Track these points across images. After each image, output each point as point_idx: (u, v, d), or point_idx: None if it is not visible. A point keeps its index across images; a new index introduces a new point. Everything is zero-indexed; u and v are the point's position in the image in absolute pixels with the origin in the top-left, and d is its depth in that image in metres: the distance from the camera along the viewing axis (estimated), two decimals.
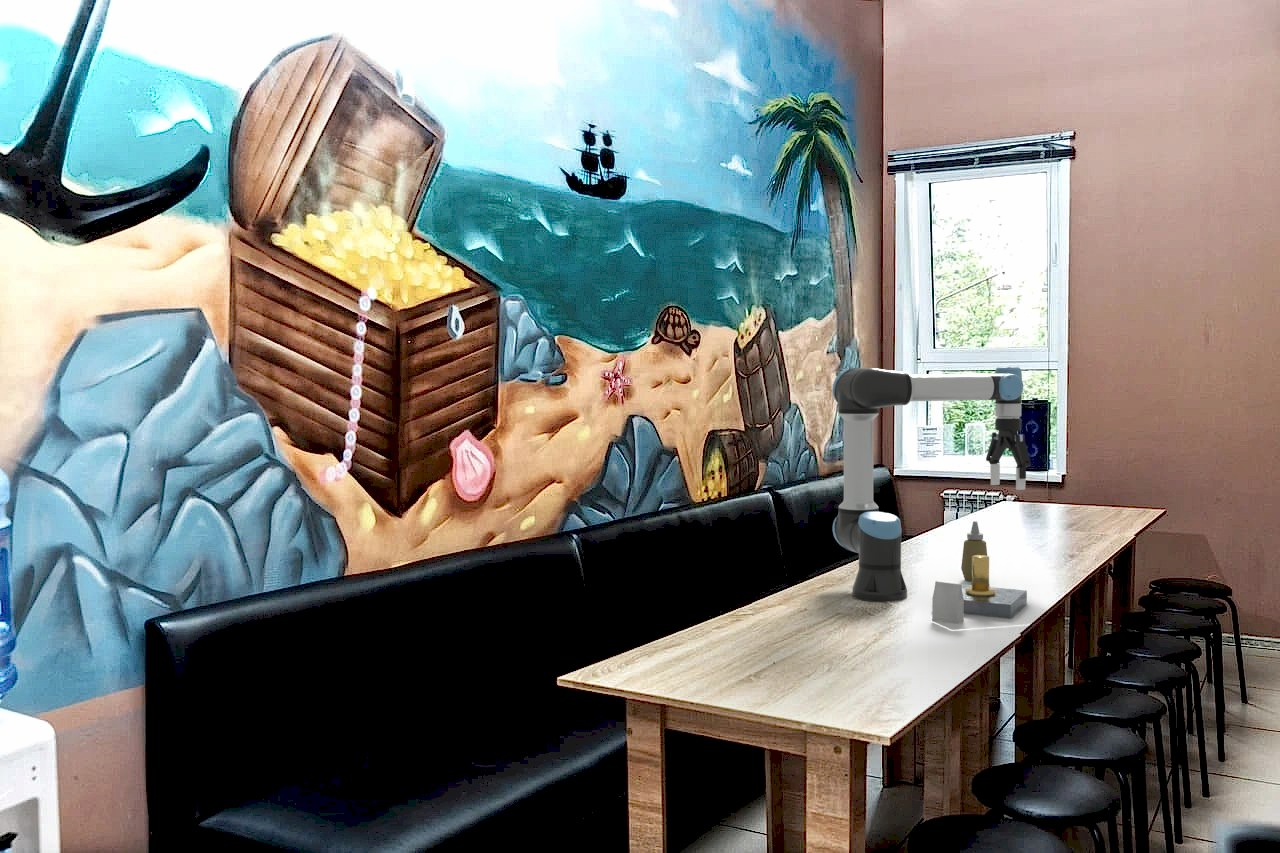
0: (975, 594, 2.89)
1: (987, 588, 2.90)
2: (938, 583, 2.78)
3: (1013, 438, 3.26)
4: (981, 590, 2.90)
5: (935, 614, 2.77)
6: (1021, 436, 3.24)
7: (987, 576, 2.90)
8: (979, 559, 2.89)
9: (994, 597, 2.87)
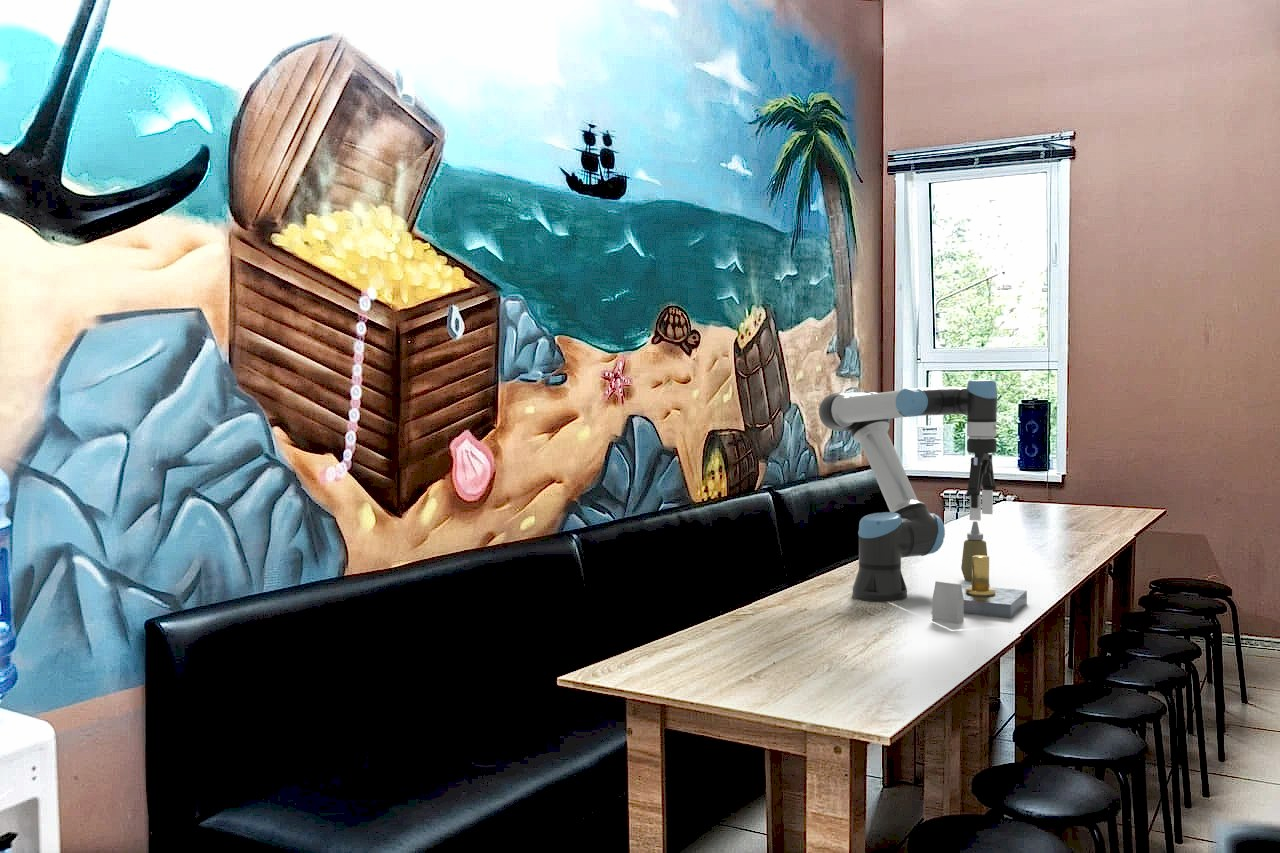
0: (975, 594, 2.89)
1: (987, 588, 2.90)
2: (938, 583, 2.78)
3: None
4: (981, 590, 2.90)
5: (935, 614, 2.77)
6: (975, 459, 2.84)
7: (987, 576, 2.90)
8: (979, 559, 2.89)
9: (994, 597, 2.87)
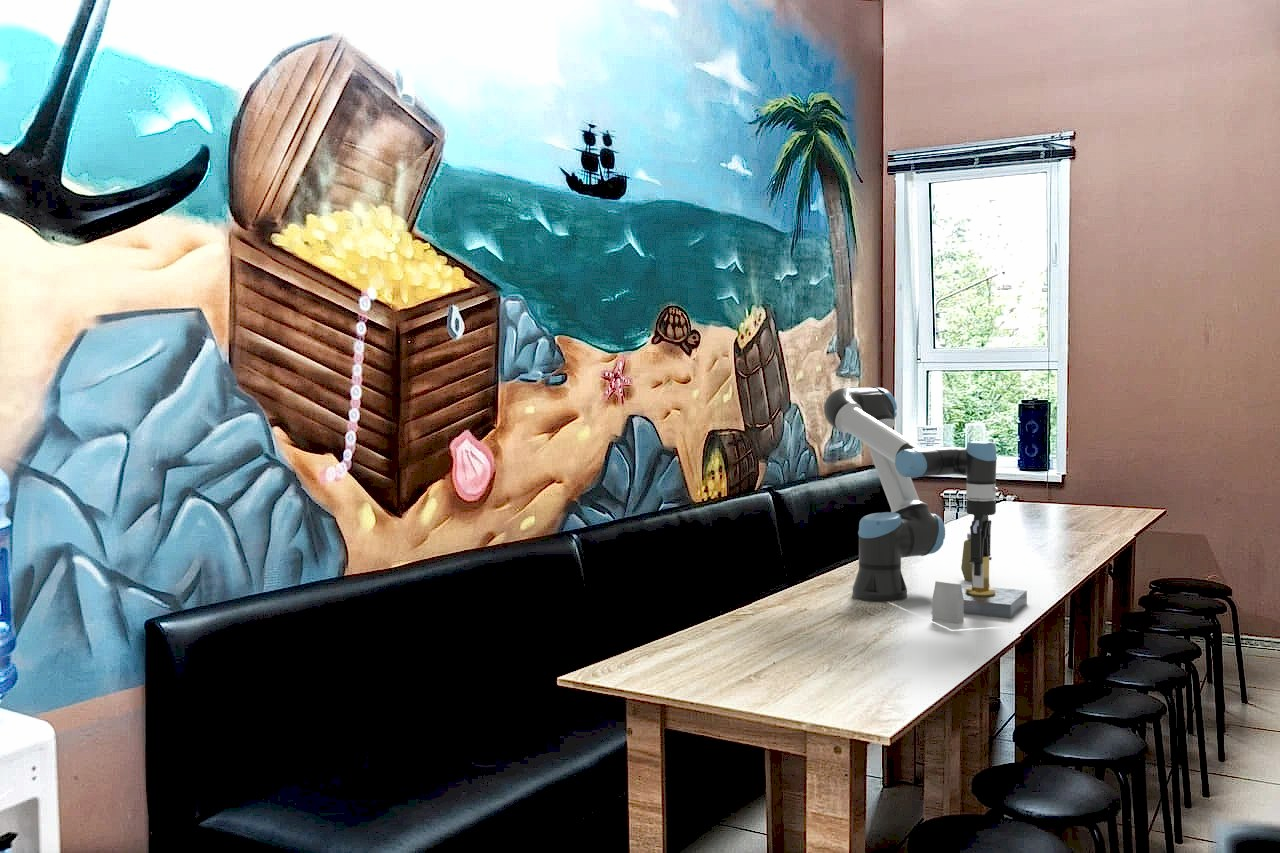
0: (975, 594, 2.89)
1: (987, 588, 2.90)
2: (938, 583, 2.78)
3: (974, 524, 2.88)
4: (981, 590, 2.90)
5: (935, 614, 2.77)
6: (975, 529, 2.85)
7: (987, 576, 2.90)
8: None
9: (994, 597, 2.87)
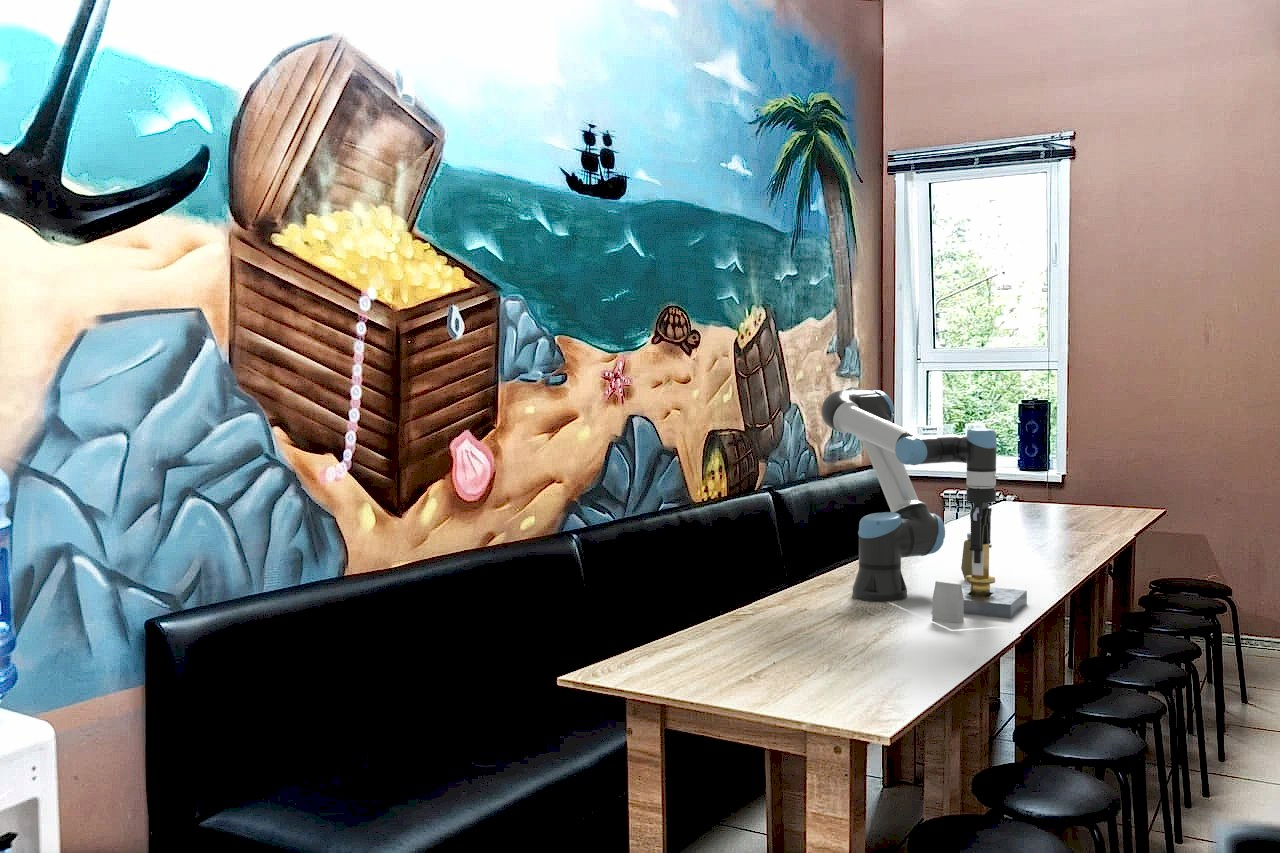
0: (974, 581, 2.89)
1: (987, 575, 2.90)
2: (938, 583, 2.78)
3: (974, 512, 2.88)
4: (981, 577, 2.89)
5: (935, 614, 2.77)
6: (975, 516, 2.85)
7: (986, 563, 2.89)
8: None
9: (994, 597, 2.87)
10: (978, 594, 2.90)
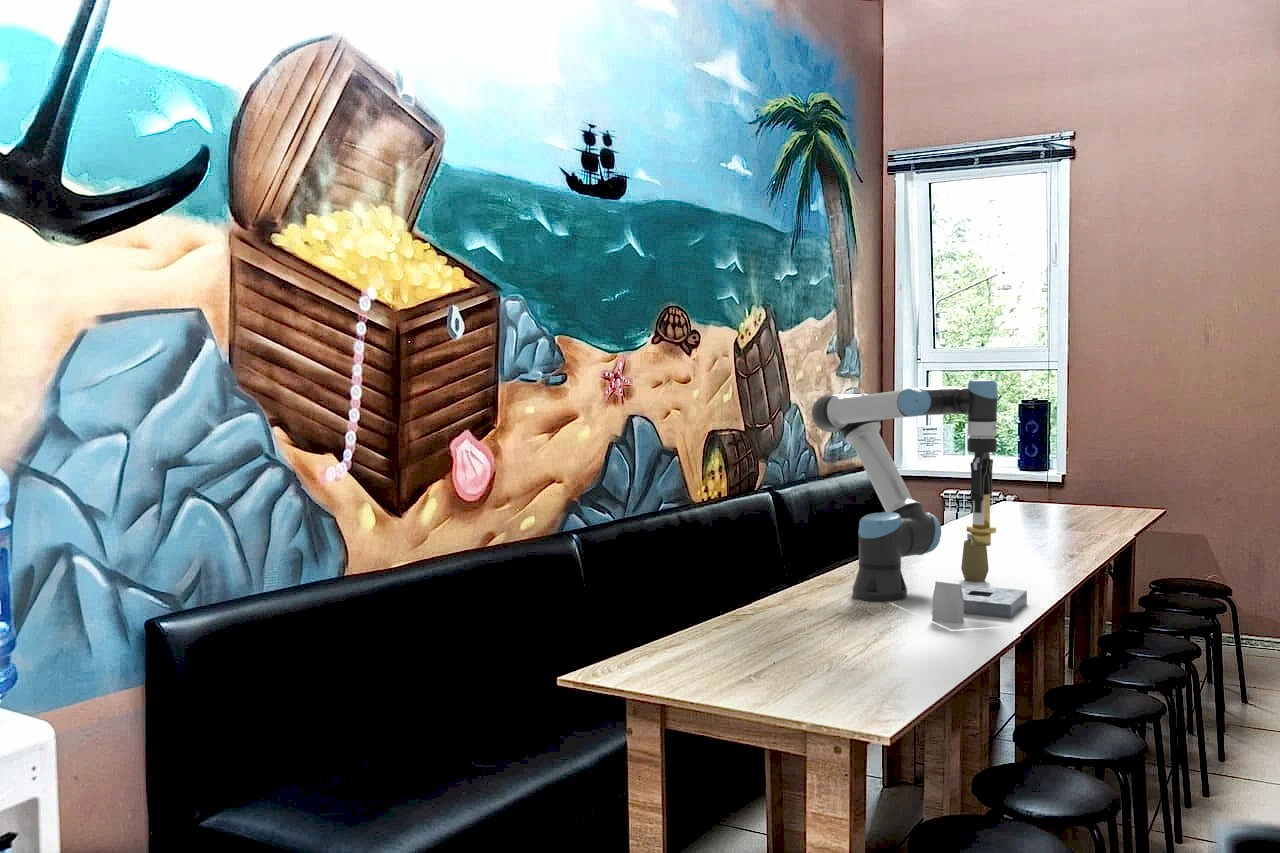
0: (975, 531, 2.91)
1: (988, 525, 2.92)
2: (938, 583, 2.78)
3: (975, 462, 2.90)
4: (981, 527, 2.92)
5: (935, 614, 2.77)
6: (975, 465, 2.87)
7: (987, 513, 2.92)
8: None
9: (994, 597, 2.87)
10: (979, 544, 2.92)
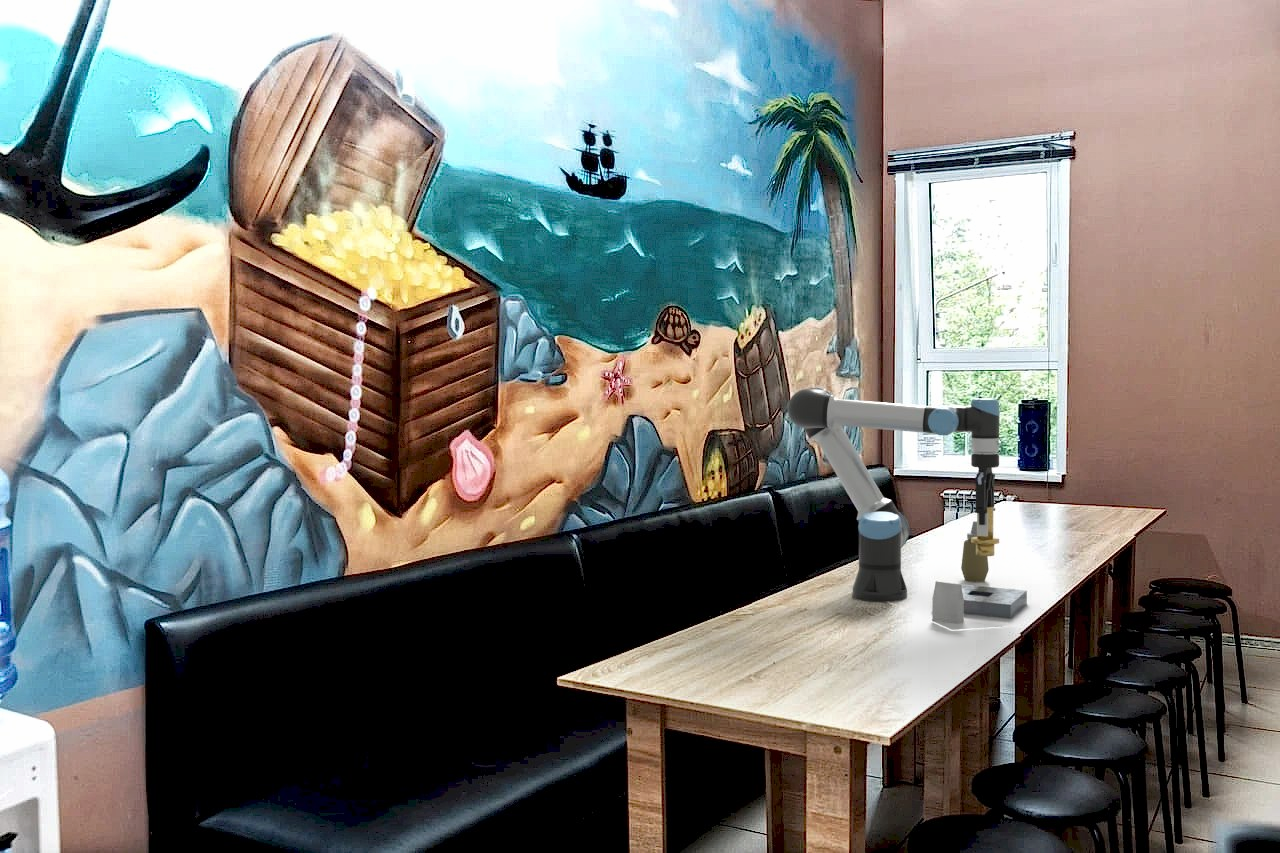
0: (980, 542, 3.06)
1: (991, 537, 3.07)
2: (938, 583, 2.78)
3: (979, 476, 3.05)
4: (986, 538, 3.07)
5: (935, 614, 2.77)
6: (979, 480, 3.03)
7: (991, 525, 3.07)
8: None
9: (994, 597, 2.87)
10: (983, 554, 3.07)
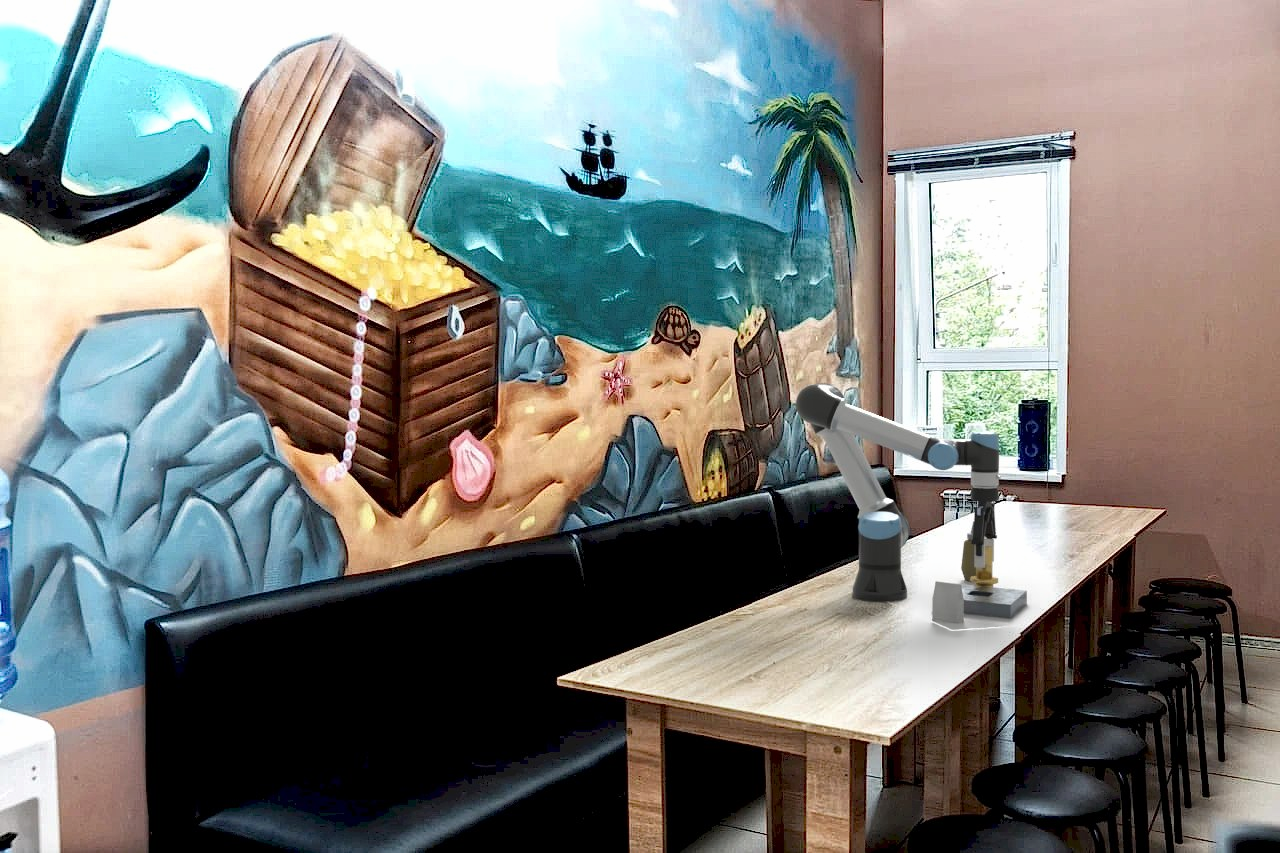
0: (979, 582, 3.07)
1: (990, 576, 3.08)
2: (938, 583, 2.78)
3: None
4: (985, 578, 3.08)
5: (935, 614, 2.77)
6: (979, 510, 3.03)
7: (990, 565, 3.08)
8: None
9: (994, 597, 2.87)
10: None
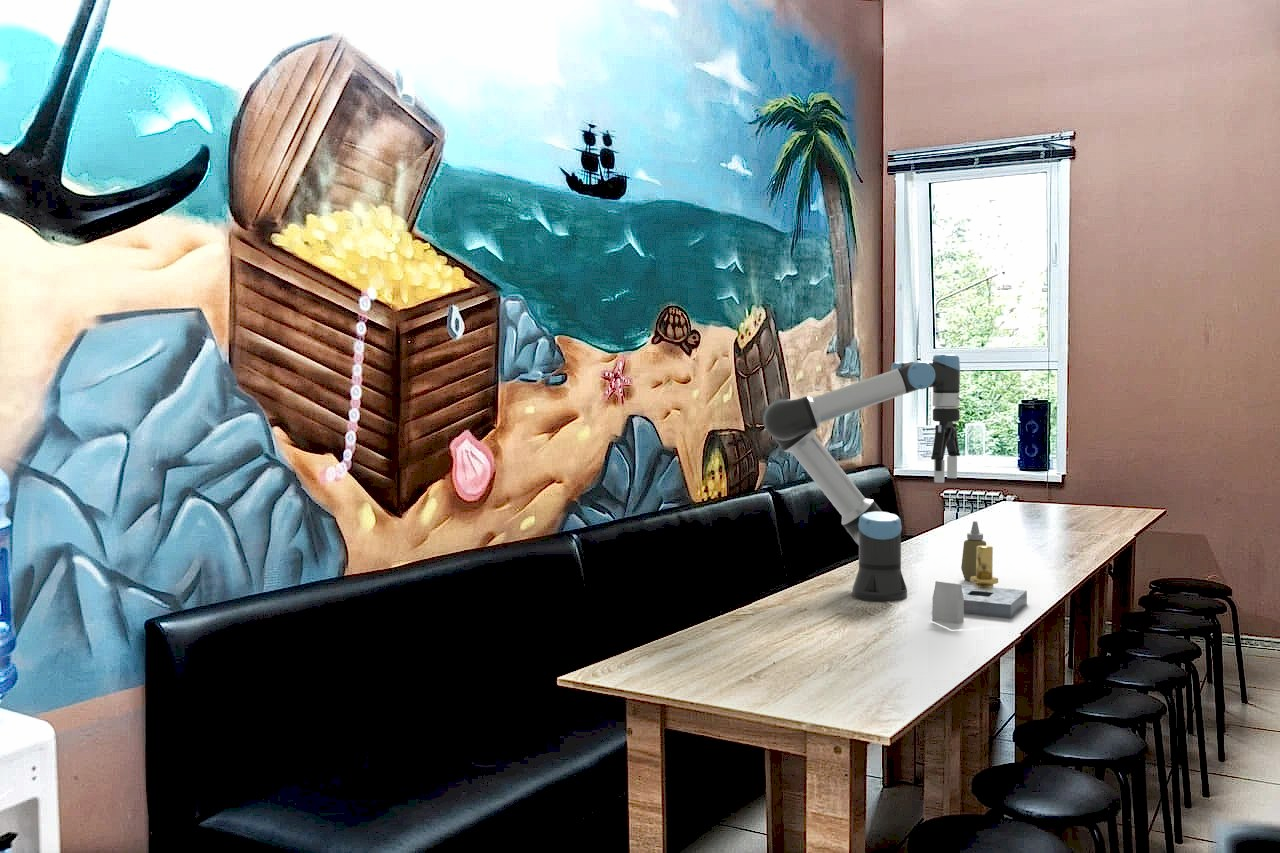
0: (979, 582, 3.07)
1: (990, 576, 3.08)
2: (938, 583, 2.78)
3: None
4: (985, 578, 3.08)
5: (935, 614, 2.77)
6: (940, 427, 3.11)
7: (990, 565, 3.08)
8: (983, 549, 3.07)
9: (994, 597, 2.87)
10: None
